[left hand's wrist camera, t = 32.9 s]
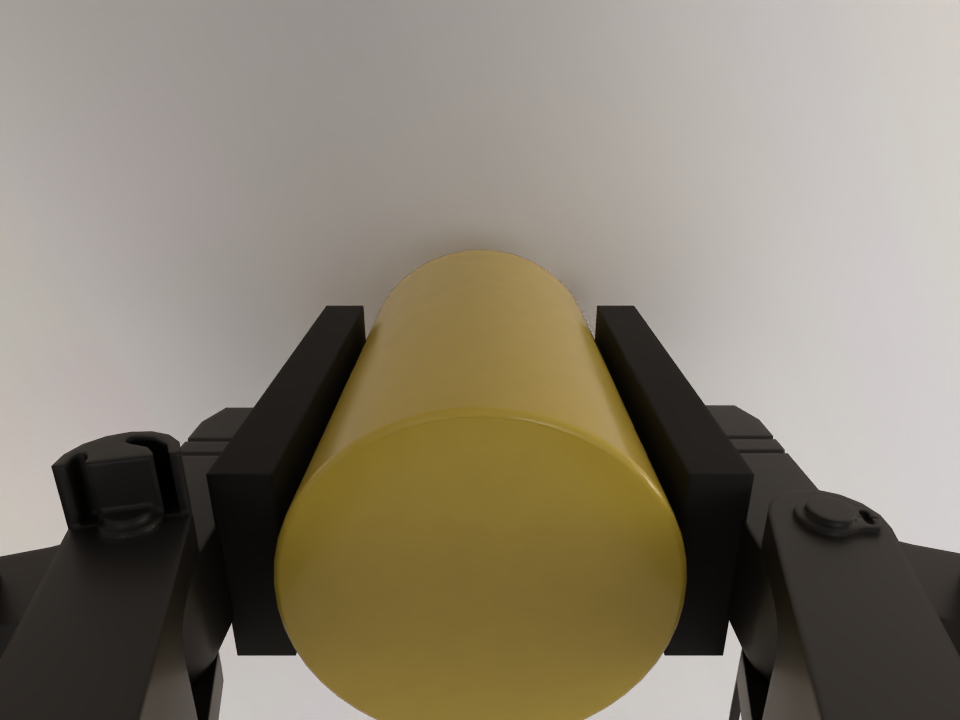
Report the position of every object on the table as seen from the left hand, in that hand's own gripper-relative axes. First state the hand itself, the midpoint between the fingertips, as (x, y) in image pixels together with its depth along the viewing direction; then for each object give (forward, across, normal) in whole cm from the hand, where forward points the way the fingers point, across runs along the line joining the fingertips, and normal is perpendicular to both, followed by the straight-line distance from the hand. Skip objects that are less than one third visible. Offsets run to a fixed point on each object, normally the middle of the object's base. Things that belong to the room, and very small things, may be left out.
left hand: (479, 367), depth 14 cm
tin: (+1, 0, 0) cm, 1 cm away
